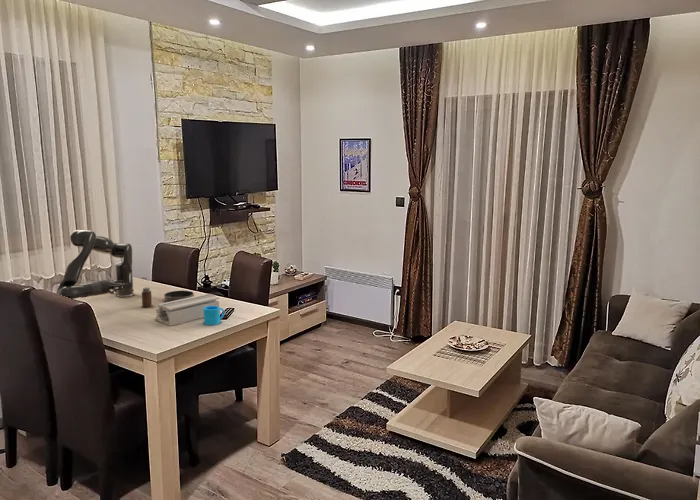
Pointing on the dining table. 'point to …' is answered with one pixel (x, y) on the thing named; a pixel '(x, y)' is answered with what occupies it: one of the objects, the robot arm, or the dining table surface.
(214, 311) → the mug
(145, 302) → the pepper mill
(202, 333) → the dining table surface
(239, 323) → the dining table surface
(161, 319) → the aluminum extrusion profile
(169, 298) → the pan
